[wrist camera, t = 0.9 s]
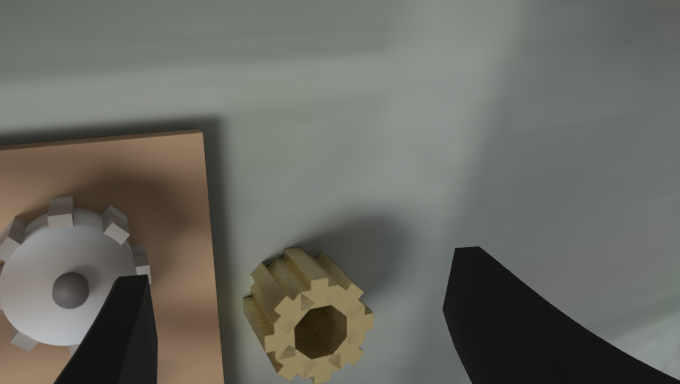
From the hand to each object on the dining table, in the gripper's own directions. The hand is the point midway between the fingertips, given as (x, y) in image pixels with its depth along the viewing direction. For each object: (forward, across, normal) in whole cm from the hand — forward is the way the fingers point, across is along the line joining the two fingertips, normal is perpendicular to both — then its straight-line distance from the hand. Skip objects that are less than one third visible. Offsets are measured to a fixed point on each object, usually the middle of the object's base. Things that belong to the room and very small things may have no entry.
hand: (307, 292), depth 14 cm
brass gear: (+15, -2, +14) cm, 21 cm away
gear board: (+13, +9, +13) cm, 20 cm away
